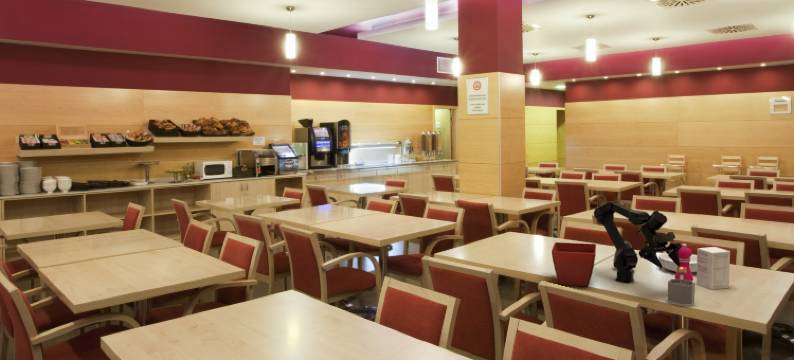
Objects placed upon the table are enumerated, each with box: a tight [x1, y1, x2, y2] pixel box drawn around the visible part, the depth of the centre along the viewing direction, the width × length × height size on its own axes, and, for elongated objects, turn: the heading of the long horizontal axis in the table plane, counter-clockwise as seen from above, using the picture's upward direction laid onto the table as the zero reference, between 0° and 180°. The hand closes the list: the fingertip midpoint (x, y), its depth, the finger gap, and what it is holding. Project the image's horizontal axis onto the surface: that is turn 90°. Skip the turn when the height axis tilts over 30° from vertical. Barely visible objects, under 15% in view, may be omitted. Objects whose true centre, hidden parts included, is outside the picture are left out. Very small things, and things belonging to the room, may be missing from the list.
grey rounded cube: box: [667, 278, 696, 307], centre depth 219 cm, size 10×10×8 cm
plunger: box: [674, 266, 689, 285], centre depth 218 cm, size 7×7×8 cm
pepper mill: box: [674, 243, 694, 282], centre depth 237 cm, size 7×7×20 cm
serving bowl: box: [657, 252, 697, 274], centre depth 264 cm, size 21×21×7 cm
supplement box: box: [696, 246, 731, 290], centre depth 238 cm, size 10×9×17 cm
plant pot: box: [551, 241, 597, 287], centre depth 249 cm, size 19×19×17 cm
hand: (670, 267), depth 223 cm, fingers open, 9 cm apart
